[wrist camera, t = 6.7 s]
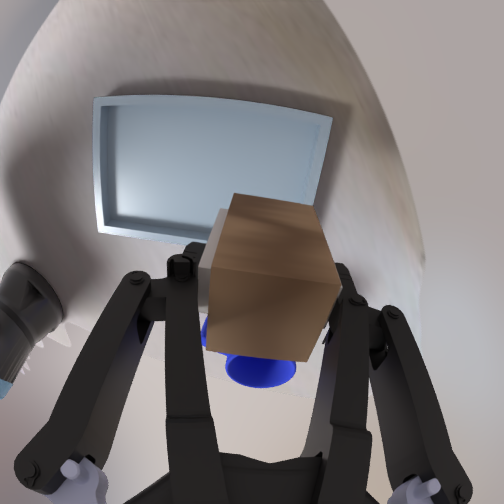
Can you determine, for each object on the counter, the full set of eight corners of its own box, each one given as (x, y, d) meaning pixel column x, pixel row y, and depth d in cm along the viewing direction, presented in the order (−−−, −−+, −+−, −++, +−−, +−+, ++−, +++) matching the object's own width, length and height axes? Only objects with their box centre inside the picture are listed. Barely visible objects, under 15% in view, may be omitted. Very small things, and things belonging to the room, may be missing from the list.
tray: (107, 223, 32) (98, 232, 30) (105, 96, 24) (93, 97, 22) (295, 250, 33) (297, 262, 31) (327, 116, 25) (332, 117, 23)
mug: (226, 267, 35) (214, 325, 27) (303, 306, 38) (310, 364, 29) (199, 307, 39) (184, 363, 30) (270, 339, 42) (270, 394, 33)
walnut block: (225, 260, 20) (205, 350, 13) (233, 192, 17) (210, 266, 10) (295, 270, 20) (306, 362, 13) (312, 205, 17) (341, 284, 10)
